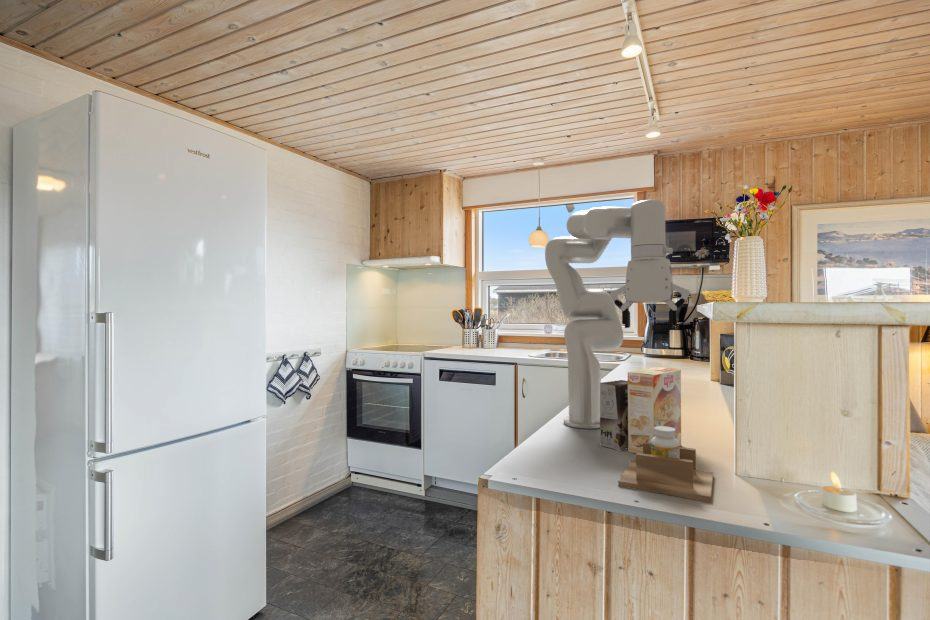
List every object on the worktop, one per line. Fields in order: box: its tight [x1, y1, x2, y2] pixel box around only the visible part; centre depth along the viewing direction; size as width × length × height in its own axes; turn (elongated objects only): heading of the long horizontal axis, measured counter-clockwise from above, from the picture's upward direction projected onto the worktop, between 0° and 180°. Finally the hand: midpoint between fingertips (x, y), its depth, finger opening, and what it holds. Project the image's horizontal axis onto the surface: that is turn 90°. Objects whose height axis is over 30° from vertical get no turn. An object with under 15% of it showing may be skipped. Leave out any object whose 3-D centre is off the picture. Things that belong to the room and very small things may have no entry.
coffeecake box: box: [627, 366, 682, 455], centre depth 113 cm, size 15×7×20 cm, turn 132°
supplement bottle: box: [651, 426, 681, 459], centre depth 92 cm, size 5×5×10 cm
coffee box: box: [599, 379, 628, 452], centre depth 117 cm, size 9×6×16 cm
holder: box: [617, 442, 714, 503], centre depth 92 cm, size 14×16×6 cm
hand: (649, 327), depth 106 cm, fingers open, 9 cm apart
